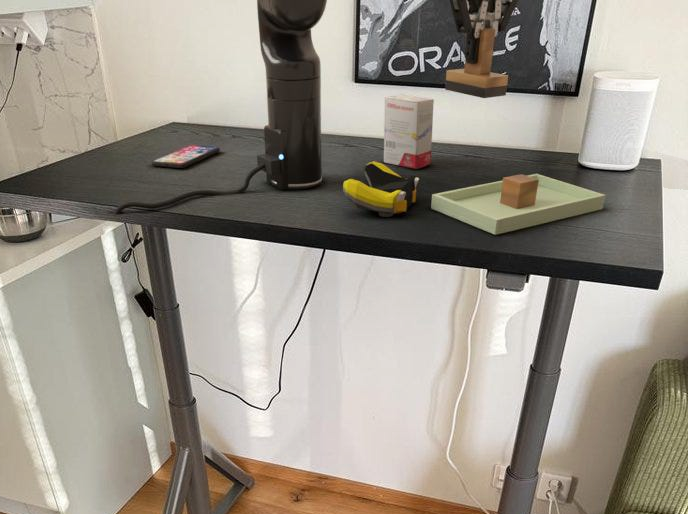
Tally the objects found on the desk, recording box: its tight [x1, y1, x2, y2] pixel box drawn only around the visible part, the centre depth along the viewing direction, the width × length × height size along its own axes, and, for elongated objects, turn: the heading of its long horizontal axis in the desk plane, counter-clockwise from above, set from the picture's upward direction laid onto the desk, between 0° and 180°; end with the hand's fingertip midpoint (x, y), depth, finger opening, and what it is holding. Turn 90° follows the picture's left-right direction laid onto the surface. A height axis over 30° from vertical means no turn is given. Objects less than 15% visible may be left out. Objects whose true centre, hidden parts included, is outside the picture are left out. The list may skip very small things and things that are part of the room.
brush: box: [444, 26, 509, 99], centre depth 123 cm, size 5×10×10 cm, turn 33°
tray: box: [430, 173, 606, 236], centre depth 119 cm, size 24×16×2 cm, turn 122°
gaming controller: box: [342, 161, 420, 218], centre depth 120 cm, size 15×6×10 cm
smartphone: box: [151, 144, 221, 169], centre depth 147 cm, size 8×1×15 cm
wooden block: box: [500, 173, 539, 209], centre depth 118 cm, size 4×4×4 cm
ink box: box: [383, 93, 435, 170], centre depth 140 cm, size 9×5×12 cm, turn 44°
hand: (478, 62), depth 123 cm, fingers closed on brush, 2 cm apart
